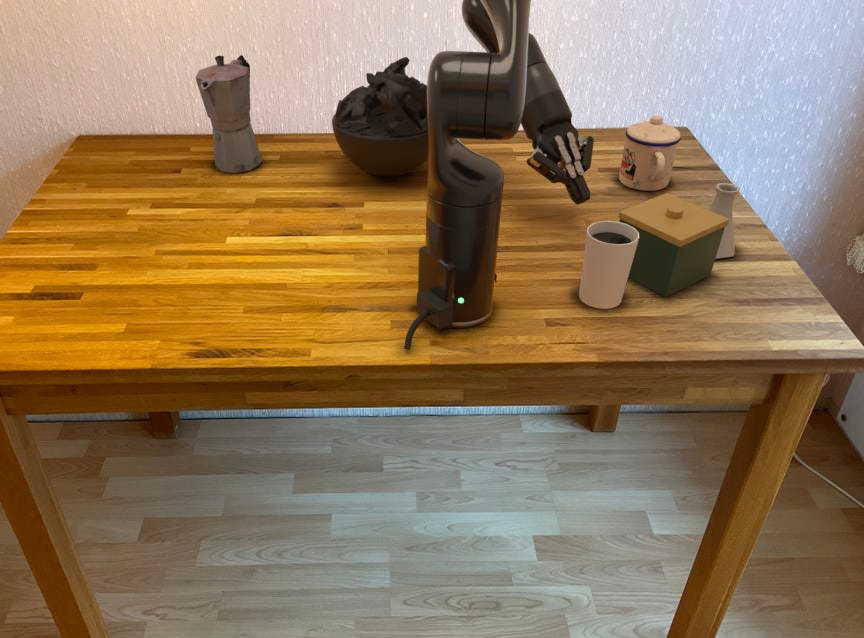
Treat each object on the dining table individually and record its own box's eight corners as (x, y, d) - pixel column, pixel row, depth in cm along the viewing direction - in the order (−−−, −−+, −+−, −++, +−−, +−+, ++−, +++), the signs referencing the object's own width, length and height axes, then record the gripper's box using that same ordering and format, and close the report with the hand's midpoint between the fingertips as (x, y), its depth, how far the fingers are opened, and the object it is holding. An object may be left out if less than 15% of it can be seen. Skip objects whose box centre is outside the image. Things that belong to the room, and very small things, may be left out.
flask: (728, 237, 115) (746, 177, 109) (741, 261, 109) (761, 199, 103) (680, 236, 116) (696, 176, 110) (691, 259, 110) (708, 197, 104)
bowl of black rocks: (380, 205, 125) (379, 94, 114) (313, 169, 138) (305, 65, 126) (465, 174, 135) (471, 68, 124) (395, 143, 148) (395, 44, 136)
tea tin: (665, 298, 102) (683, 233, 96) (607, 267, 109) (620, 204, 102) (712, 275, 106) (731, 212, 100) (654, 246, 113) (669, 186, 107)
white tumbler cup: (606, 280, 106) (619, 217, 99) (634, 304, 101) (650, 239, 94) (566, 290, 104) (576, 226, 98) (593, 314, 99) (606, 249, 93)
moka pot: (196, 176, 136) (176, 64, 124) (233, 145, 147) (218, 40, 135) (243, 182, 134) (228, 68, 121) (277, 150, 145) (266, 43, 133)
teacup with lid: (611, 171, 136) (623, 107, 129) (661, 171, 135) (676, 107, 128) (627, 199, 126) (641, 133, 119) (680, 199, 126) (697, 133, 119)
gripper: (519, 97, 109) (567, 203, 109) (583, 80, 115) (629, 181, 114) (493, 121, 116) (538, 222, 115) (554, 105, 122) (598, 200, 121)
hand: (583, 201), depth 115 cm, fingers closed
